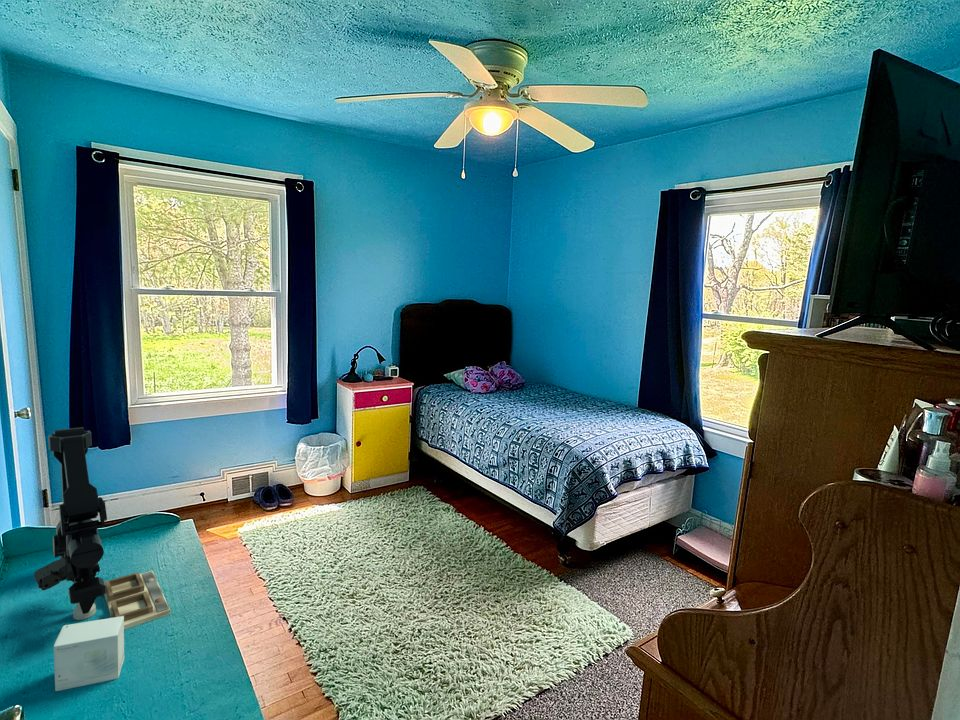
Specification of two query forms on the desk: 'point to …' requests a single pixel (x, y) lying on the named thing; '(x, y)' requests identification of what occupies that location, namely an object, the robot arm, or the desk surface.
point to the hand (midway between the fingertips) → (84, 606)
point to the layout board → (136, 598)
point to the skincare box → (89, 653)
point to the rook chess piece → (79, 615)
